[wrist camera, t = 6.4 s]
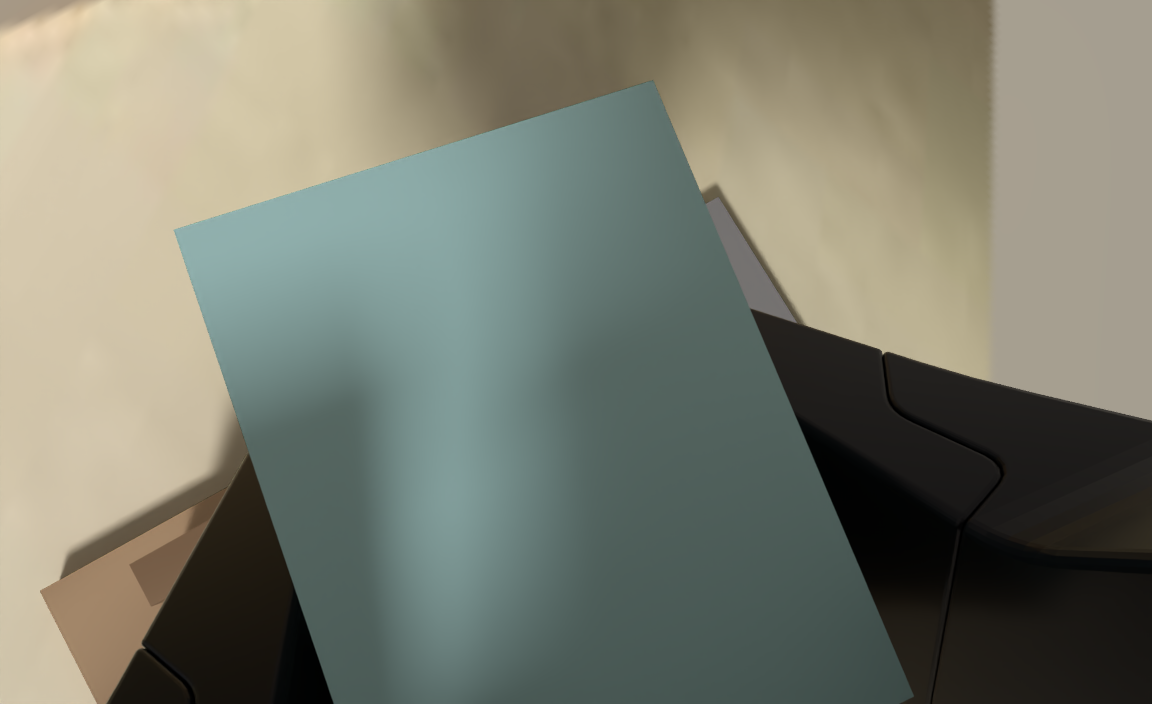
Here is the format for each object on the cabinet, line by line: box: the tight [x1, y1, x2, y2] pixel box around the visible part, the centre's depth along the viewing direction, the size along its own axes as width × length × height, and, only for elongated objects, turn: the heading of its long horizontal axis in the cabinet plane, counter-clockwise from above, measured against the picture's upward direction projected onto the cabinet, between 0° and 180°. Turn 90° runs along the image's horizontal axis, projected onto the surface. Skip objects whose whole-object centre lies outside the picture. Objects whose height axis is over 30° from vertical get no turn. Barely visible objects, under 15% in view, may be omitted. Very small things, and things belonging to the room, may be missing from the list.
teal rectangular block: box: [174, 80, 914, 704], centre depth 10 cm, size 4×3×10 cm
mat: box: [706, 197, 797, 323], centre depth 23 cm, size 8×7×1 cm
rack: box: [40, 487, 228, 704], centre depth 19 cm, size 11×12×4 cm
